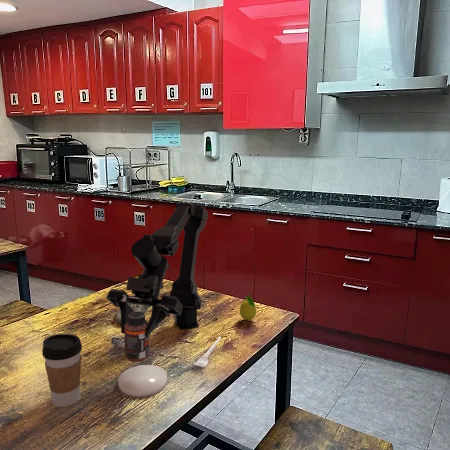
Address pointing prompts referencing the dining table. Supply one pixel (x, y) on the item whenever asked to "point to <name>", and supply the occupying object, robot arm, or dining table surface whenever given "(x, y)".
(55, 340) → the coffee cup
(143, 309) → the elongated rock
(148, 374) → the beige flattened disc
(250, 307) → the lemon
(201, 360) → the fork
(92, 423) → the dining table surface
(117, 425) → the dining table surface
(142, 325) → the supplement bottle
